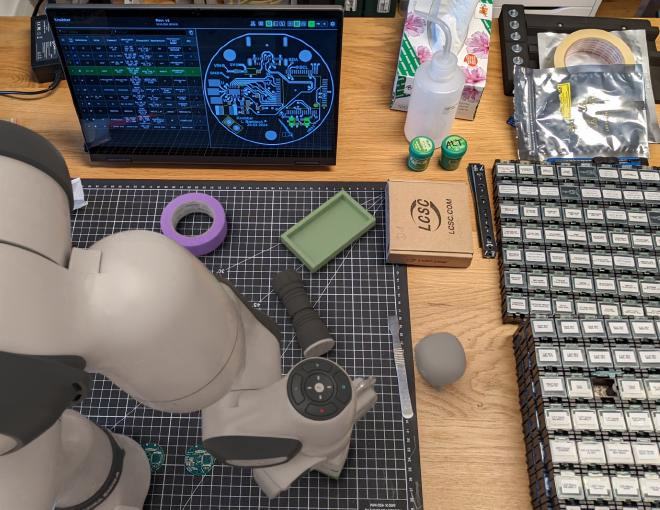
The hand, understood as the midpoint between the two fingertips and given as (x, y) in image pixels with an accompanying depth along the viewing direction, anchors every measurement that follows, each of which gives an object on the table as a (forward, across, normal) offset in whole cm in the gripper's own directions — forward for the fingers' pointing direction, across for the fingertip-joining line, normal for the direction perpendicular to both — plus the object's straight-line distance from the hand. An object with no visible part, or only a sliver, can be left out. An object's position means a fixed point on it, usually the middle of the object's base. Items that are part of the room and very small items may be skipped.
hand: (317, 448), depth 92 cm
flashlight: (+5, -13, -19) cm, 24 cm away
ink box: (+5, 0, 0) cm, 5 cm away
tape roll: (+5, -10, -46) cm, 47 cm away
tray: (+5, -28, -29) cm, 41 cm away
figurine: (+5, -22, +3) cm, 23 cm away
